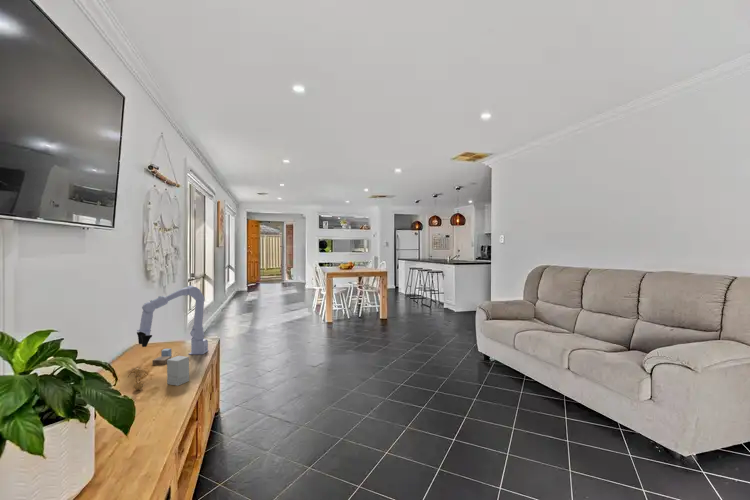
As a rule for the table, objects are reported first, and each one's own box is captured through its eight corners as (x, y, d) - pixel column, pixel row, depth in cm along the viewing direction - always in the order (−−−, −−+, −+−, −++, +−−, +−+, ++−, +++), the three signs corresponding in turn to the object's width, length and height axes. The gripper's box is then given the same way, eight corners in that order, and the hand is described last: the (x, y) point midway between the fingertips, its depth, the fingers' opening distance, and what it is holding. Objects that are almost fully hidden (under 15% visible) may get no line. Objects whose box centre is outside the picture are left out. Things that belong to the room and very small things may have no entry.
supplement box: (189, 380, 186) (189, 356, 186) (177, 386, 179) (177, 361, 179) (178, 379, 188) (178, 355, 188) (166, 384, 181) (166, 359, 181)
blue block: (171, 356, 226) (171, 348, 226) (167, 358, 222) (167, 350, 222) (165, 356, 226) (165, 348, 226) (161, 358, 222) (161, 350, 222)
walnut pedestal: (171, 361, 218) (171, 356, 218) (164, 365, 211) (164, 360, 211) (159, 361, 218) (159, 356, 217) (152, 365, 211) (152, 360, 210)
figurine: (149, 386, 178) (149, 363, 178) (147, 391, 172) (146, 366, 172) (129, 389, 175) (129, 365, 174) (126, 394, 169) (126, 369, 169)
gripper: (135, 320, 217) (131, 343, 216) (141, 324, 207) (137, 348, 206) (148, 320, 222) (145, 342, 221) (155, 324, 212) (151, 347, 211)
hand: (142, 345), depth 214 cm, fingers open, 7 cm apart
